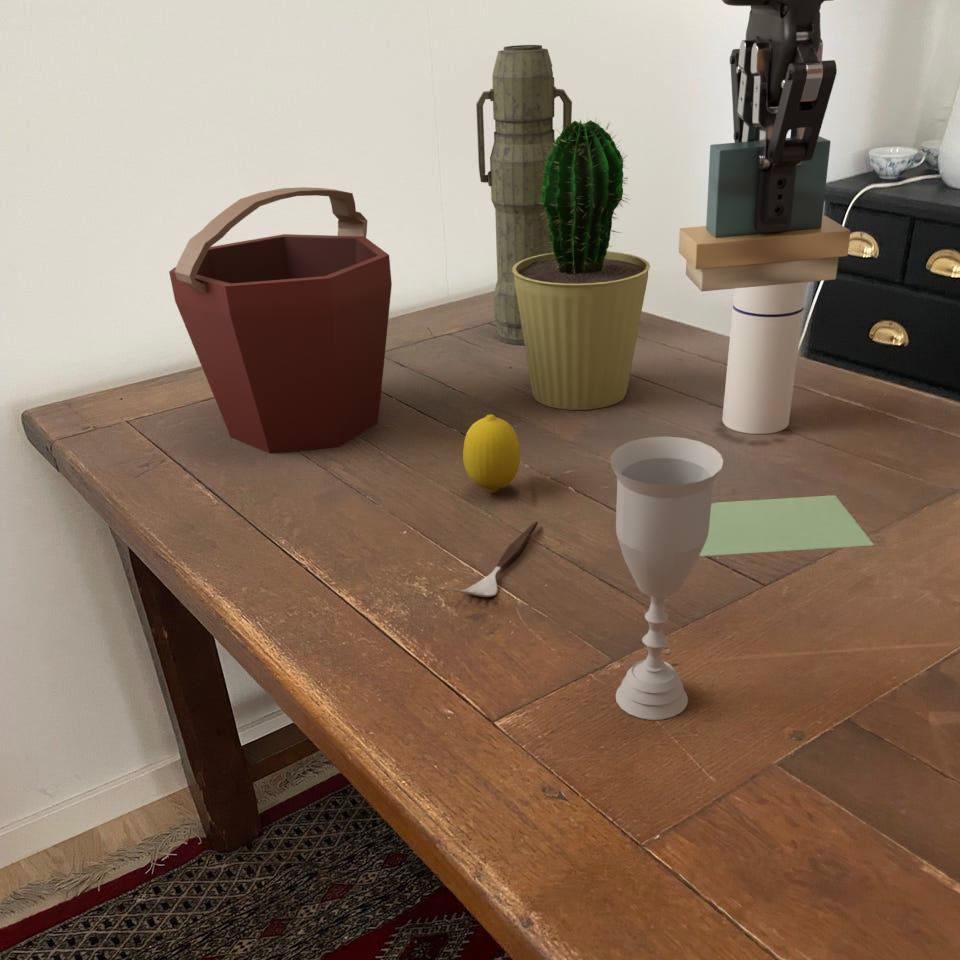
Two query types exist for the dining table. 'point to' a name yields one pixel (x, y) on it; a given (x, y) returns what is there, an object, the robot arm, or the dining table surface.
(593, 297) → the potted cactus
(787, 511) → the mat
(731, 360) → the cylindrical container
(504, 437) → the lemon
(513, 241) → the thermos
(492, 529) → the dining table surface
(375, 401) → the bucket
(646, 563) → the chalice
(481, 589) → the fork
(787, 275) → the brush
